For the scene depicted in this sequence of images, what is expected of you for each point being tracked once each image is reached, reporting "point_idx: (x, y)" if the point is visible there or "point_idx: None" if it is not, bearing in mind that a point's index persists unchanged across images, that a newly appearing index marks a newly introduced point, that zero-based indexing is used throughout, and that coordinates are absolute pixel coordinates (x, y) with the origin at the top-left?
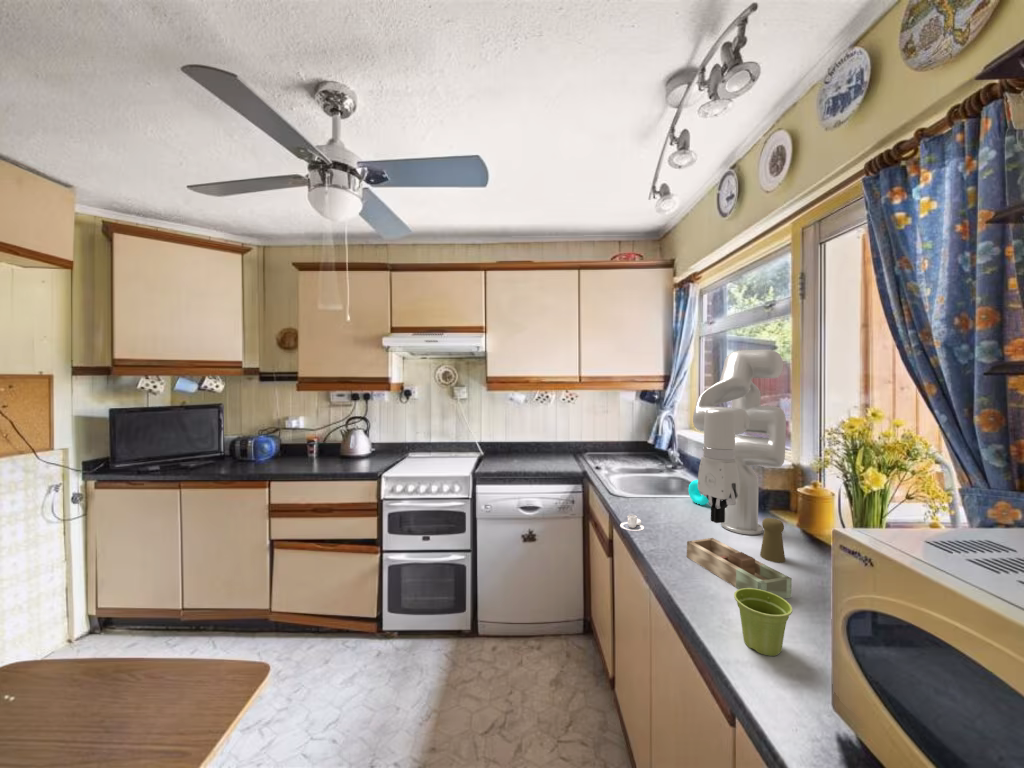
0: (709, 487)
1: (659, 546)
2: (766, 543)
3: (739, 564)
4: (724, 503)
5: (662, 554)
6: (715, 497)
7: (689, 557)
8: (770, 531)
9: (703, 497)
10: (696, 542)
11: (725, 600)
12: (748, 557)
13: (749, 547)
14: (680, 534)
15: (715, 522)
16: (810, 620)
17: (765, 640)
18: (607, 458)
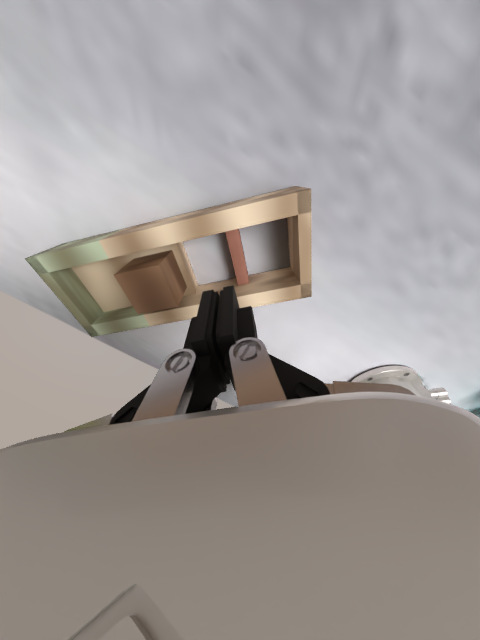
0: (135, 626)
1: (402, 113)
2: None
3: (129, 267)
4: (117, 414)
5: (339, 82)
6: (99, 427)
7: (284, 189)
8: None
9: None
10: (297, 227)
11: (36, 150)
12: (143, 304)
13: (303, 358)
14: (430, 256)
15: (203, 292)
16: (32, 295)
17: None
18: None
